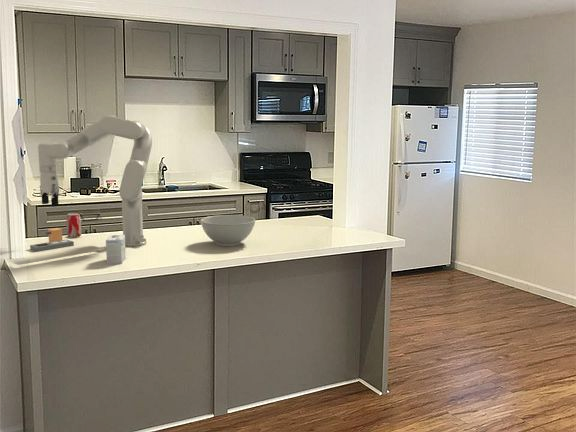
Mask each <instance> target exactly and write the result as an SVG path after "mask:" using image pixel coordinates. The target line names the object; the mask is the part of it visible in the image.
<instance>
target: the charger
mask: <svg viewBox="0 0 576 432" xmlns="http://www.w3.org/2000/svg"><path fill="white" fill-rule="evenodd" d="M45 235H46V236H48V242H53V241H60V240H63V228H59V227H55V228H48V229H47V232H45Z"/></svg>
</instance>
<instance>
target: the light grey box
mask: <svg viewBox="0 0 576 432" xmlns="http://www.w3.org/2000/svg"><path fill="white" fill-rule="evenodd" d="M105 252H106V265H123V262H124V261H125V260H126V258H127V257H126V256H127V255H126V254H127V253H126V246H125V235H123V234H115V235H114V234H111V235H109V236H108V238H107V239H106V240H105Z"/></svg>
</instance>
